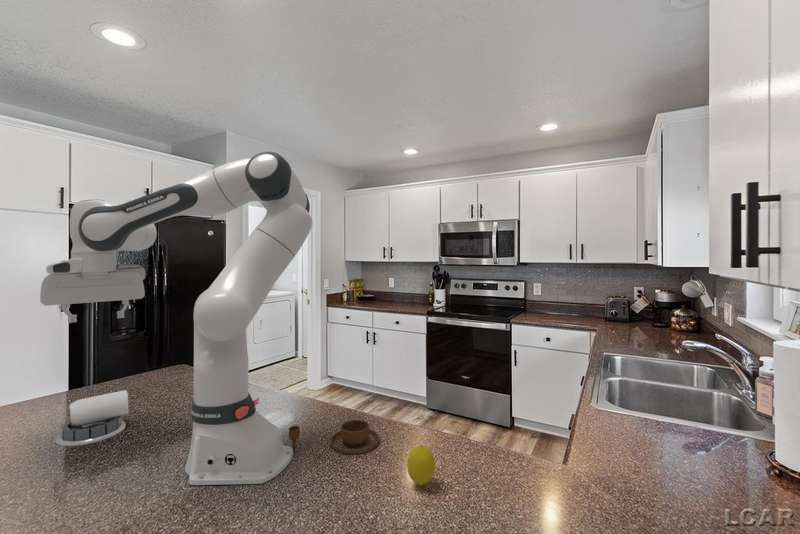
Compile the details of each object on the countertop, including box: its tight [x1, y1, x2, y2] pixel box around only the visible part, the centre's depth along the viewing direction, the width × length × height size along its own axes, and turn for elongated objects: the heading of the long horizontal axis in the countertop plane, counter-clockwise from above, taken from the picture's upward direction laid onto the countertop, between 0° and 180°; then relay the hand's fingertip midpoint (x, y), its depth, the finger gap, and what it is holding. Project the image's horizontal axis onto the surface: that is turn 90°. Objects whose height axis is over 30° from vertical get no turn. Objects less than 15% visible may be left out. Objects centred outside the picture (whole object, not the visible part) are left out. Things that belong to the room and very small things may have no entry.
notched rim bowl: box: [55, 415, 127, 447], centre depth 97 cm, size 14×14×3 cm
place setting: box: [288, 419, 380, 460], centre depth 92 cm, size 18×20×6 cm
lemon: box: [406, 444, 436, 486], centre depth 74 cm, size 6×6×8 cm
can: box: [68, 389, 130, 426], centre depth 98 cm, size 6×6×12 cm
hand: (97, 320), depth 93 cm, fingers open, 8 cm apart
